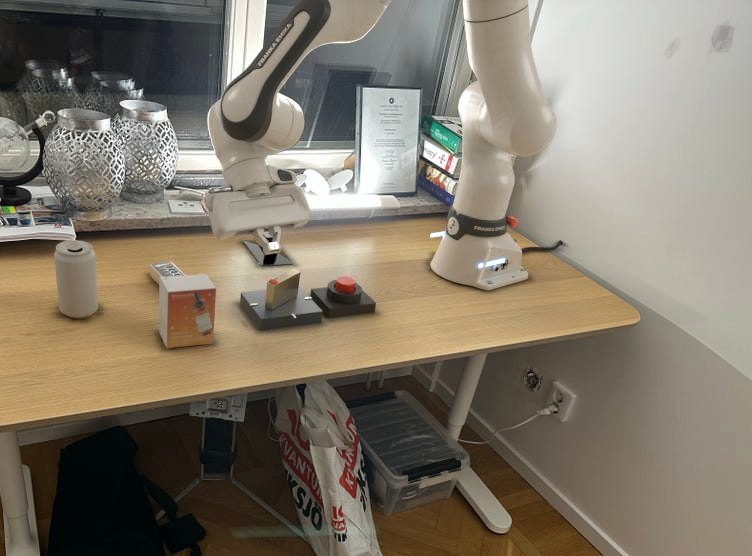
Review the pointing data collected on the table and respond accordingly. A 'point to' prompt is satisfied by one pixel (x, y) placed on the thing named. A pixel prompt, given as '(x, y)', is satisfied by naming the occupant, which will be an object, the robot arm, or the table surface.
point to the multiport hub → (164, 270)
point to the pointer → (282, 289)
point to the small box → (186, 310)
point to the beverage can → (76, 278)
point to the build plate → (268, 259)
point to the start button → (345, 284)
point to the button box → (342, 301)
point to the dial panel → (280, 310)
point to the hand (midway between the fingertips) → (273, 252)
